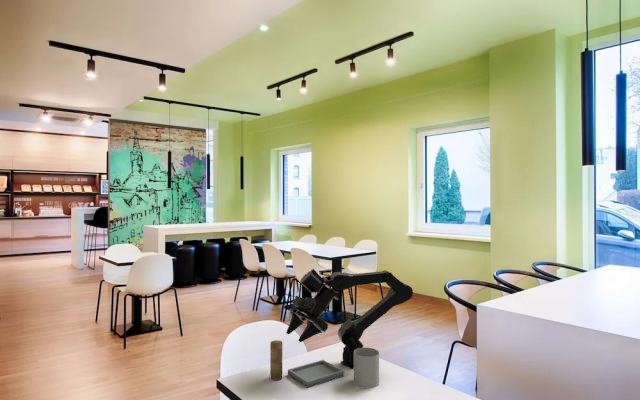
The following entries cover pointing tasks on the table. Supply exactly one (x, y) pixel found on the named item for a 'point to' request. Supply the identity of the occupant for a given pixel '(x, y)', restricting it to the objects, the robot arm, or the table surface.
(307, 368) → the tray
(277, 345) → the dowel
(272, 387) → the table surface
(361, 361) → the cup
